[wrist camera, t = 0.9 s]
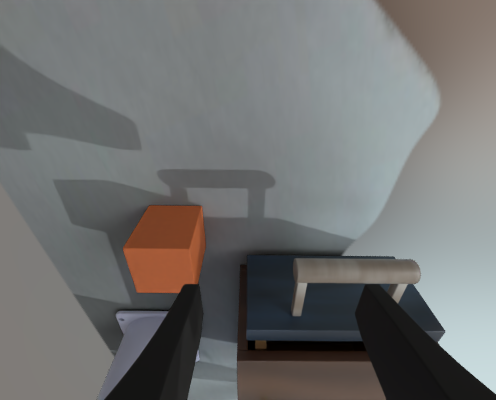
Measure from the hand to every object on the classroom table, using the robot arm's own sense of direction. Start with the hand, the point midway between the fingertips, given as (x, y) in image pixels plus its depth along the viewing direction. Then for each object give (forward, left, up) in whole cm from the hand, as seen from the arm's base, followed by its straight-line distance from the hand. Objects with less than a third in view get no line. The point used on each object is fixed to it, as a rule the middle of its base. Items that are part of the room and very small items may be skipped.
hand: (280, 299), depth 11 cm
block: (-3, +7, -10) cm, 12 cm away
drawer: (-10, -5, -9) cm, 14 cm away
